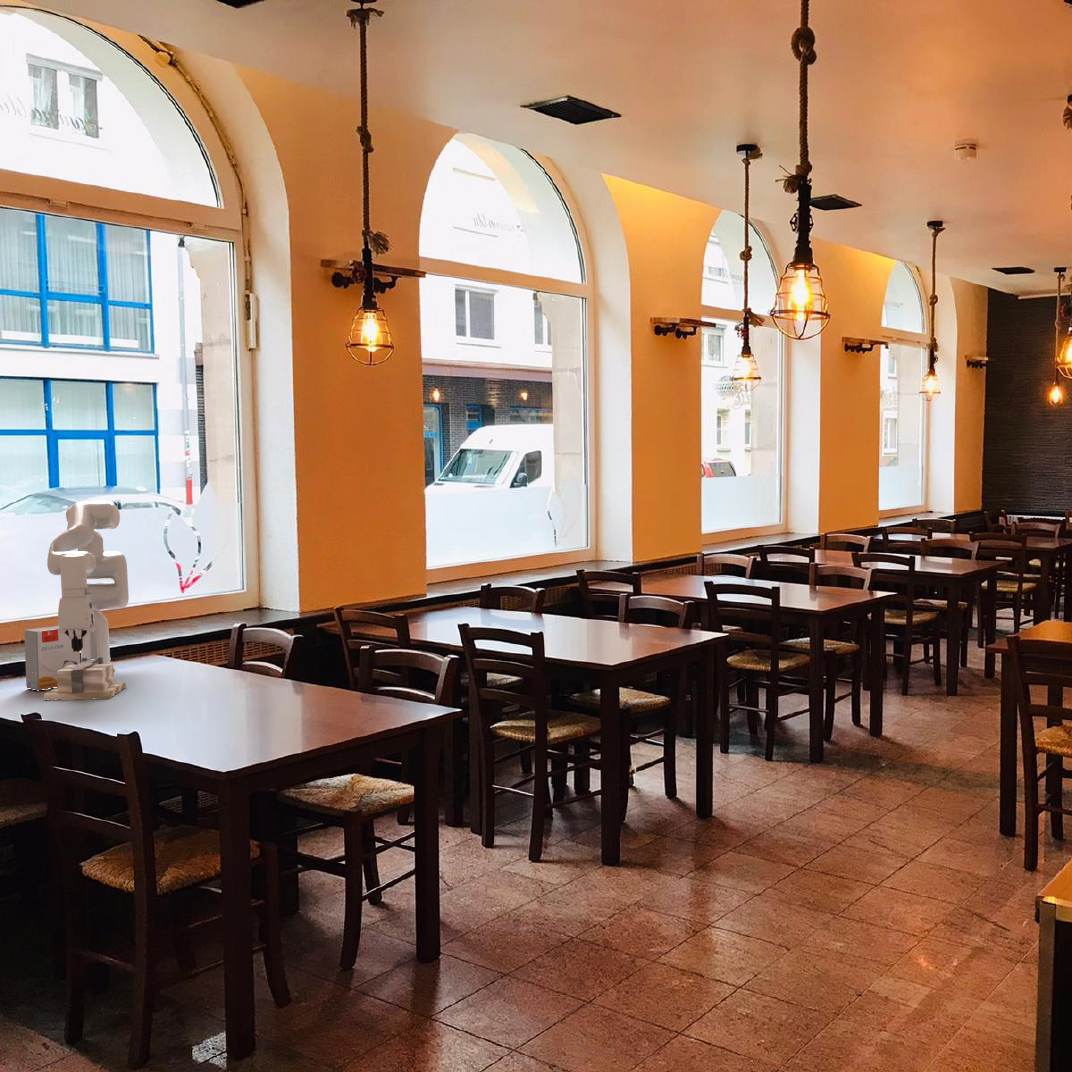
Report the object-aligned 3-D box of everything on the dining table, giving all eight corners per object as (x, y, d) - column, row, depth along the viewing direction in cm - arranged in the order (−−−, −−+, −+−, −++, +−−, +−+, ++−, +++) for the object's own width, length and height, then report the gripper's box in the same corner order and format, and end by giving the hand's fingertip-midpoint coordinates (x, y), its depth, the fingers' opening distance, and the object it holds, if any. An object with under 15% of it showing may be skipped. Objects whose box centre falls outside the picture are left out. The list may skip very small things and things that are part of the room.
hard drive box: (38, 692, 368) (35, 631, 366) (25, 690, 372) (22, 629, 371) (82, 684, 380) (79, 625, 379) (69, 681, 385) (66, 623, 383)
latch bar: (87, 662, 371) (87, 658, 371) (98, 662, 371) (98, 658, 371) (70, 670, 355) (70, 666, 355) (81, 670, 355) (81, 666, 355)
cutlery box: (64, 689, 372) (62, 657, 371) (126, 687, 373) (124, 656, 372) (44, 700, 355) (42, 667, 354) (108, 698, 356) (107, 665, 355)
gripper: (102, 591, 360) (105, 648, 361) (54, 592, 359) (57, 649, 361) (94, 594, 352) (97, 652, 354) (45, 595, 352) (48, 653, 353)
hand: (77, 650), depth 357 cm, fingers closed
